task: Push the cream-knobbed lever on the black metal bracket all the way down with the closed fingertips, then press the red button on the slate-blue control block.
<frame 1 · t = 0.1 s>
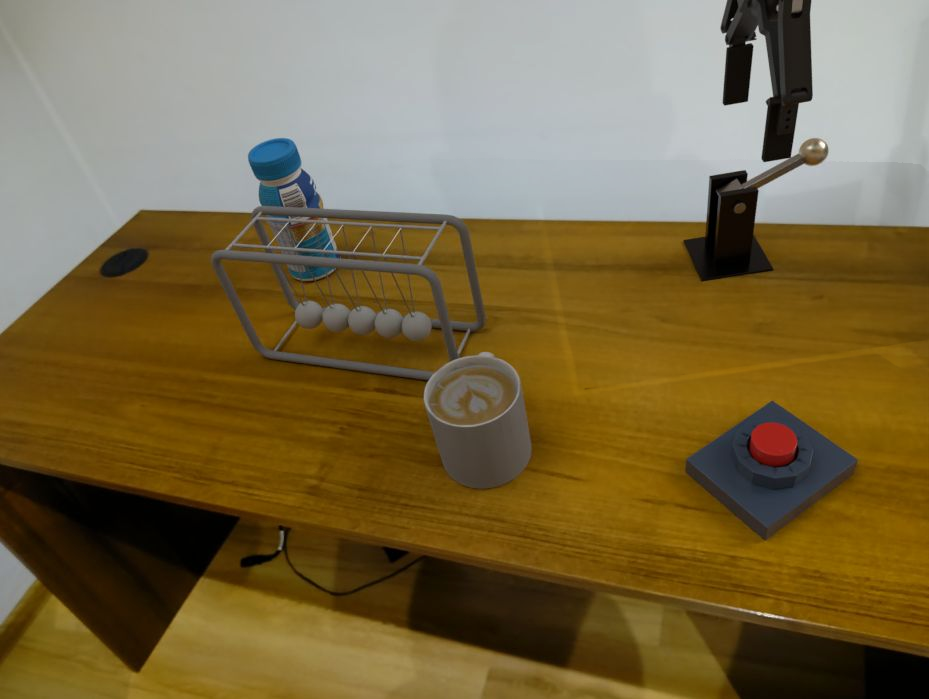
hand: (754, 129, 79), 20 cm above the table, tool pointing down, fingers open, 13 cm apart
newton's cradle: (371, 345, 95), on the table
beverage bottle: (316, 267, 111), on the table
lever: (772, 173, 87), point 12 cm above the table, hinge at 25.0°
button block: (767, 473, 71), on the table
button: (773, 444, 68), point 4 cm above the table, slide at 0.1 cm
coffee mug: (491, 440, 80), on the table
bracket: (726, 260, 95), on the table
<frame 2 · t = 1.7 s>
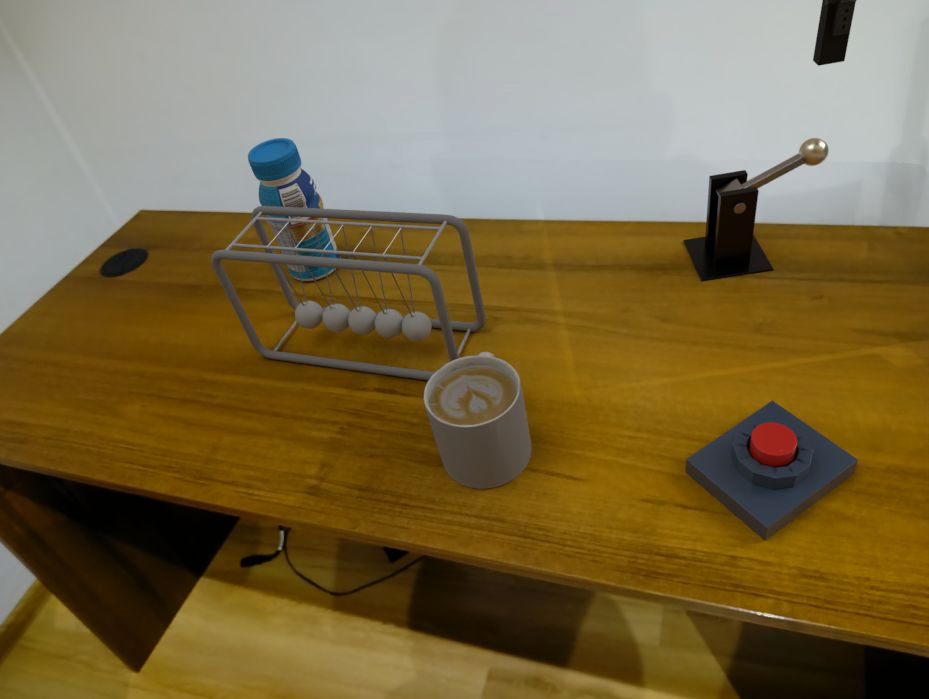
hand: (828, 60, 77), 25 cm above the table, tool pointing down, fingers closed
nothing on the table moved.
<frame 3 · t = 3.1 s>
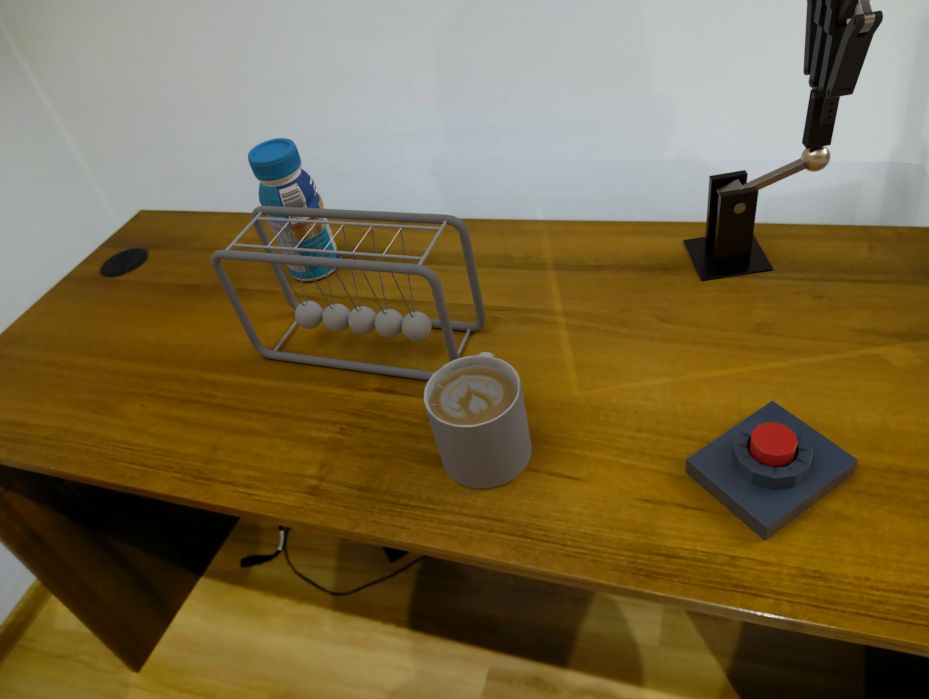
hand: (816, 143, 84), 15 cm above the table, tool pointing down, fingers closed
lever: (773, 176, 87), point 12 cm above the table, hinge at 19.8°, touching gripper
everything else where it was.
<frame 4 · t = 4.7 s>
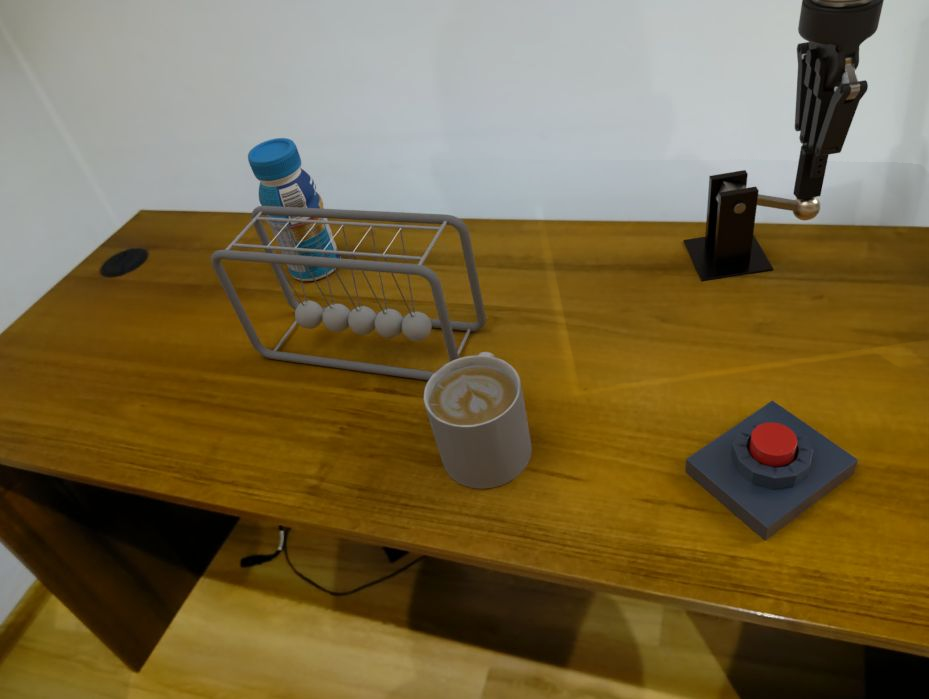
hand: (806, 194, 89), 8 cm above the table, tool pointing down, fingers closed
lever: (770, 201, 89), point 8 cm above the table, hinge at -20.5°, touching gripper
everything else where it was.
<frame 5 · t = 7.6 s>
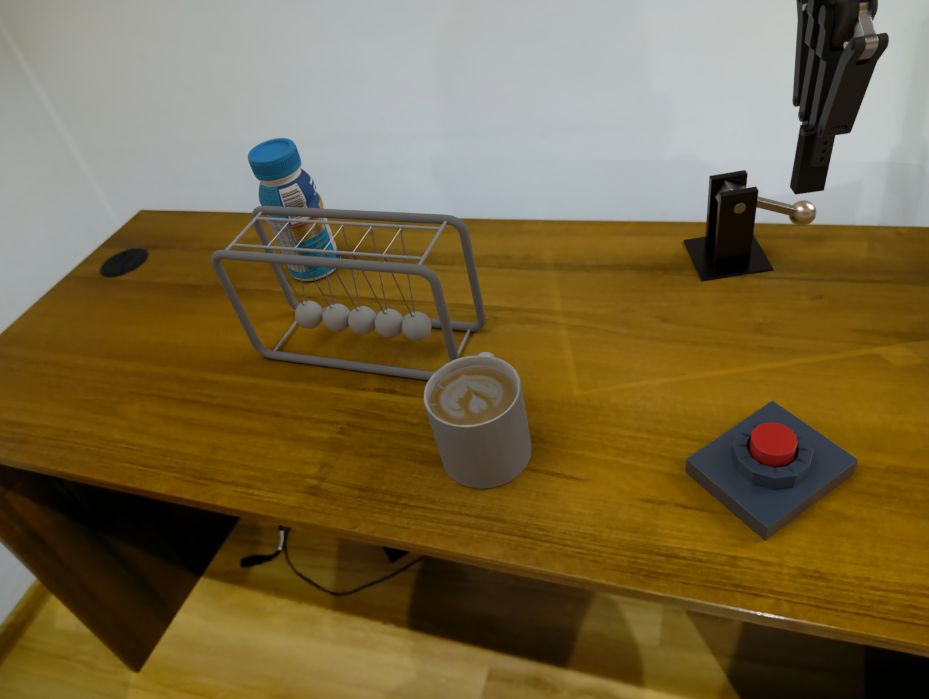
hand: (806, 188, 70), 20 cm above the table, tool pointing down, fingers closed
lever: (768, 204, 89), point 8 cm above the table, hinge at -25.4°
everything else where it was.
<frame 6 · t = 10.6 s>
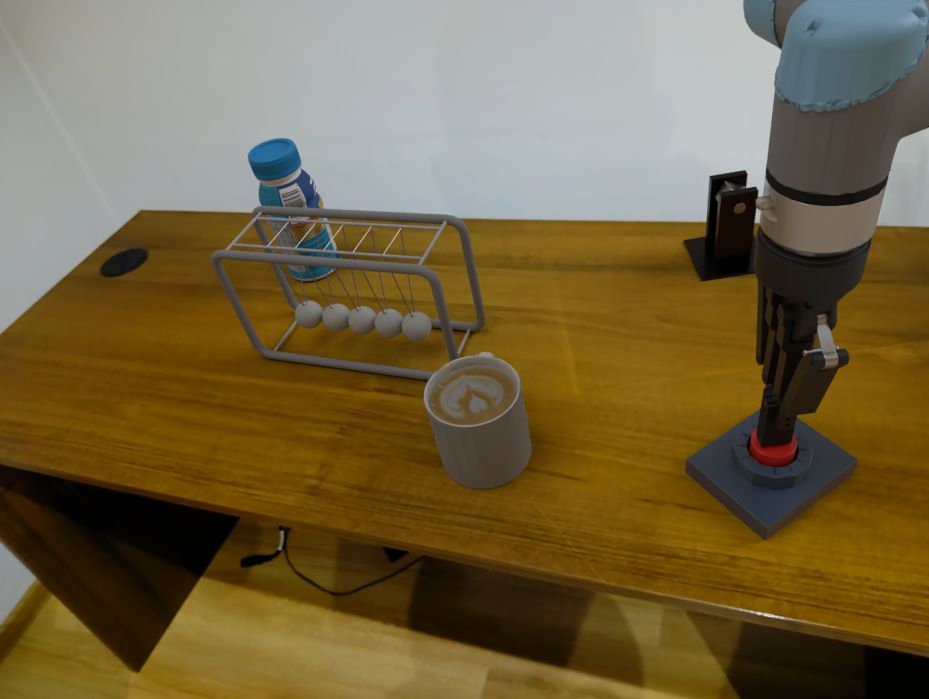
hand: (773, 438, 67), 5 cm above the table, tool pointing down, fingers closed
button: (772, 446, 68), point 4 cm above the table, slide at -0.2 cm, touching gripper
everything else where it was.
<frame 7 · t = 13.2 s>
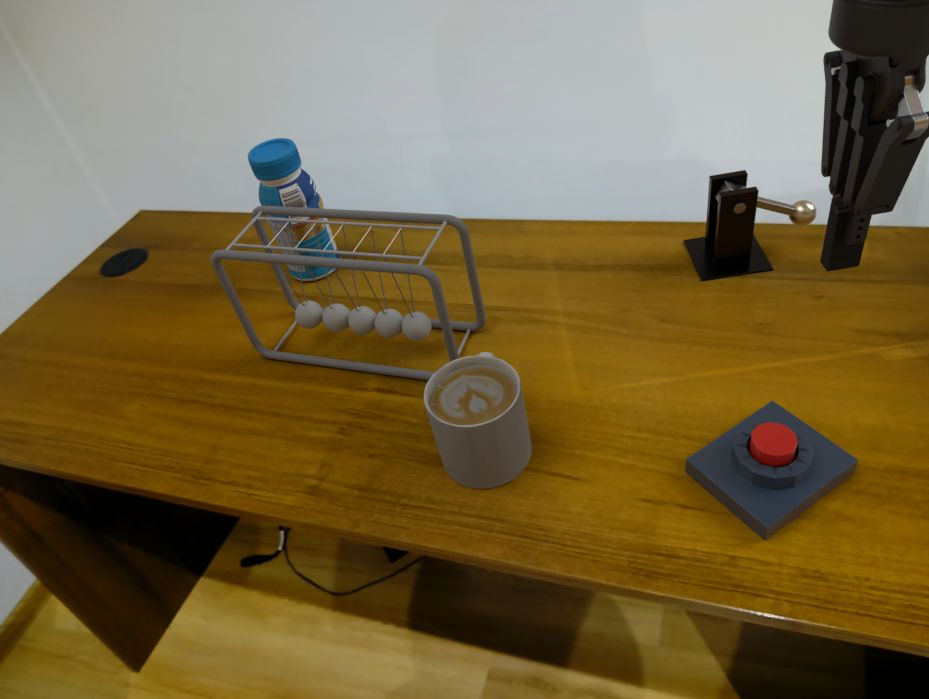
hand: (839, 263, 63), 19 cm above the table, tool pointing down, fingers closed
button: (773, 444, 68), point 4 cm above the table, slide at 0.1 cm
everything else where it was.
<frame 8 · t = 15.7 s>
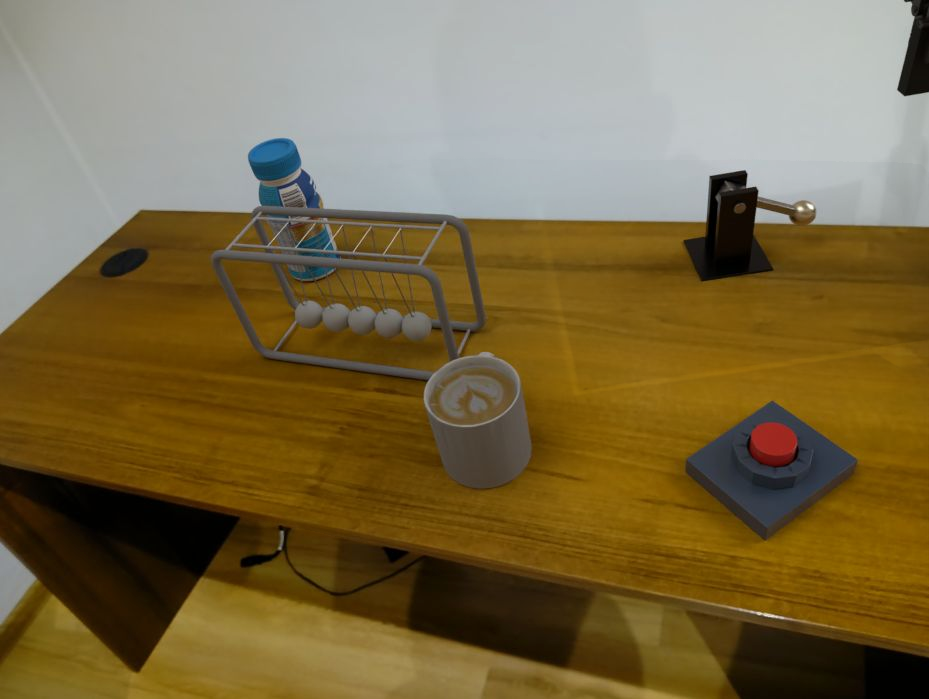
hand: (915, 90, 67), 26 cm above the table, tool pointing down, fingers closed
nothing on the table moved.
at the end: lever at -25° (first picture: +25°); button pushed in 1.0 cm at the most during the clip, back to where it started at the end; button slide at 0.1 cm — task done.
